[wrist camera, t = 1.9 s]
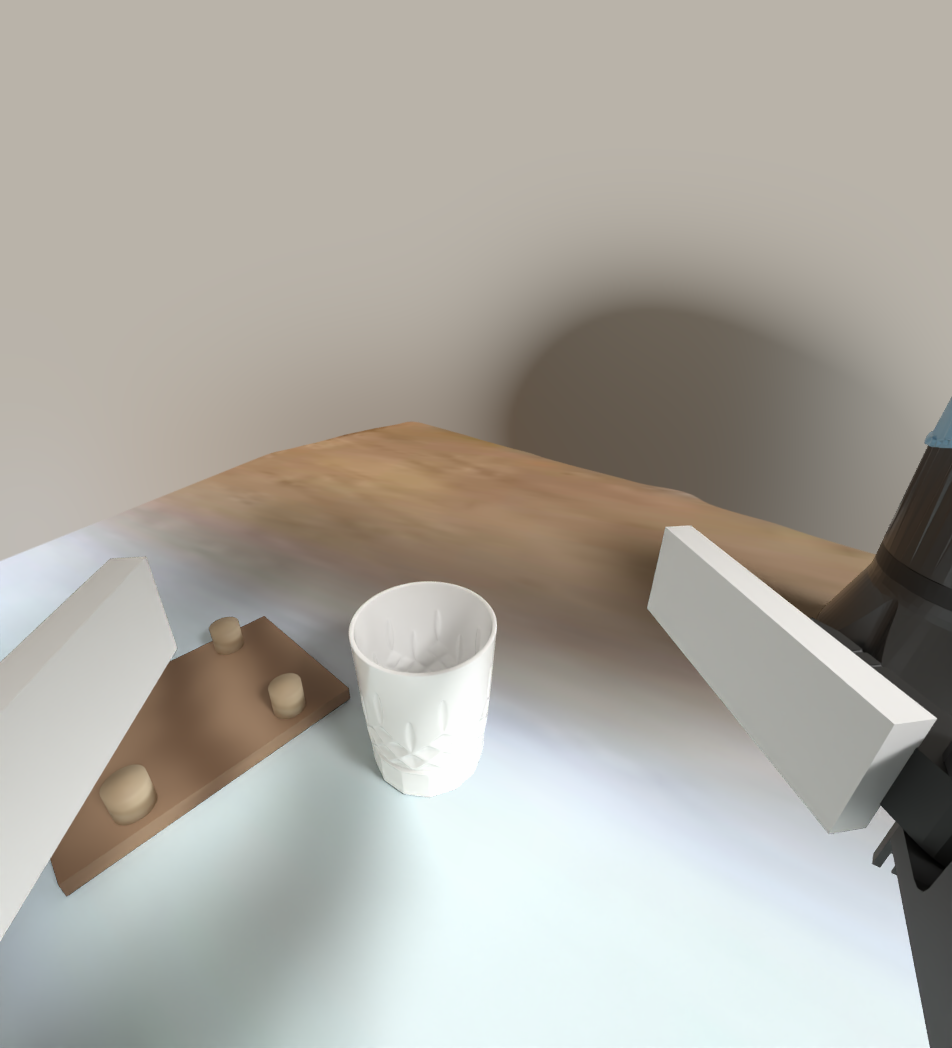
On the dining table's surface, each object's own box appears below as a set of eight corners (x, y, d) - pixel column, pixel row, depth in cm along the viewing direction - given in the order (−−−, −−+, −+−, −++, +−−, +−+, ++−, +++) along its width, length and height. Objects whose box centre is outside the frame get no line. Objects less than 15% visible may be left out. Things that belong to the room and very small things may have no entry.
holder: (266, 625, 40) (259, 596, 38) (350, 698, 33) (345, 666, 32) (19, 748, 29) (-2, 714, 28) (66, 896, 22) (41, 860, 21)
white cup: (338, 763, 28) (315, 634, 24) (420, 682, 34) (413, 567, 30) (442, 837, 25) (438, 701, 20) (513, 732, 31) (522, 609, 26)
